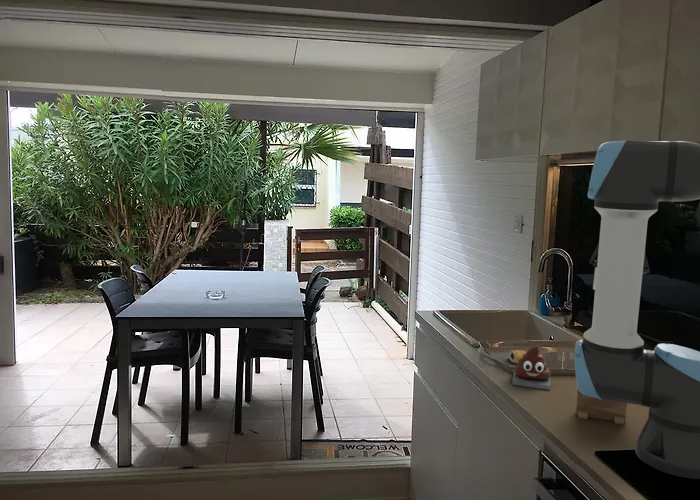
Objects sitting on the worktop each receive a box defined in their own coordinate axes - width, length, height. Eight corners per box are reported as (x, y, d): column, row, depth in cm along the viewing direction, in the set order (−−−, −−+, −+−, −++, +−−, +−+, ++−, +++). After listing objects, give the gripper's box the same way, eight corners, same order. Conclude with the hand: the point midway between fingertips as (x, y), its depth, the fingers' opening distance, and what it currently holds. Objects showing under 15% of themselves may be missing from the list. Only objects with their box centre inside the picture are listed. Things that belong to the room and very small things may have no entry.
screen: (626, 425, 134) (631, 367, 132) (576, 417, 137) (581, 361, 135) (623, 417, 138) (628, 361, 137) (575, 410, 142) (579, 355, 140)
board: (550, 390, 155) (550, 385, 155) (512, 384, 158) (512, 380, 158) (549, 378, 165) (549, 374, 165) (513, 373, 168) (514, 369, 168)
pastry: (535, 359, 183) (536, 347, 183) (543, 366, 177) (544, 354, 176) (507, 358, 183) (508, 347, 182) (514, 365, 176) (515, 353, 176)
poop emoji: (549, 374, 165) (551, 343, 164) (551, 384, 156) (554, 351, 155) (513, 370, 167) (515, 339, 166) (513, 379, 159) (516, 347, 158)
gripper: (671, 221, 148) (660, 302, 149) (602, 217, 171) (594, 287, 173) (648, 219, 145) (638, 301, 147) (582, 215, 169) (573, 285, 171)
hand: (614, 293), depth 160 cm, fingers open, 13 cm apart
